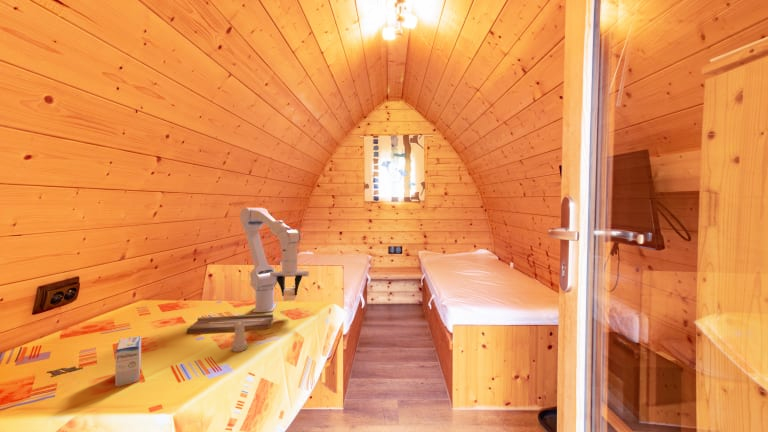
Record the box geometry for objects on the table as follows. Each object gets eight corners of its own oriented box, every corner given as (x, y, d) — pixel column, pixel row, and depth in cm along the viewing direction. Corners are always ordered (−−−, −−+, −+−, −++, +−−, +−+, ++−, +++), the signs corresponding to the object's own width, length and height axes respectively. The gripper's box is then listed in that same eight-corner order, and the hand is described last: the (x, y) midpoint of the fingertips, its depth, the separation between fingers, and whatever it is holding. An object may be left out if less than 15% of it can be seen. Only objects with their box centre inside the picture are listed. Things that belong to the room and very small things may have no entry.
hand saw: (159, 344, 98) (159, 342, 98) (163, 348, 95) (163, 346, 95) (46, 373, 80) (46, 371, 80) (47, 379, 77) (47, 376, 77)
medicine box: (118, 373, 79) (118, 338, 79) (141, 368, 82) (141, 335, 82) (115, 387, 73) (115, 349, 73) (139, 381, 75) (139, 345, 75)
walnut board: (199, 323, 116) (199, 317, 116) (273, 319, 120) (273, 313, 120) (187, 333, 106) (187, 326, 106) (268, 328, 110) (268, 322, 110)
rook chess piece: (250, 349, 94) (250, 322, 94) (234, 353, 90) (234, 325, 90) (244, 344, 97) (244, 318, 97) (229, 349, 94) (229, 322, 94)
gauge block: (285, 297, 126) (285, 287, 126) (295, 297, 127) (295, 287, 127) (283, 300, 121) (283, 290, 121) (294, 300, 122) (294, 289, 122)
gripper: (268, 262, 119) (268, 298, 119) (308, 261, 121) (308, 296, 121) (271, 259, 126) (271, 294, 126) (309, 259, 128) (309, 292, 128)
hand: (289, 295), depth 124 cm, fingers closed on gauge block, 4 cm apart
